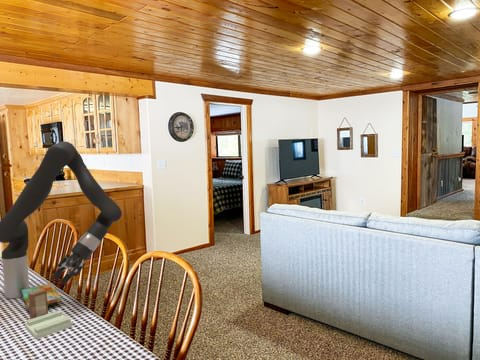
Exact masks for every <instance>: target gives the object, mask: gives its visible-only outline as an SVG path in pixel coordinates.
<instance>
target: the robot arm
mask: <svg viewBox="0 0 480 360" xmlns="http://www.w3.org/2000/svg"><path fill="white" fill-rule="evenodd" d="M66 166H67V167H68V168H69V170H70V171H71V172H72V173H73V175H74V176H75V178H76V180H77V183H78V185H79V188H80V189H81V192H82V193H83V195H84V196H85V198H86V199H87V200H88V201H89V203H91V205H92V206H94V207H96V208H98V210H99V211H100V213H99V214H98V215H97V217H96V218H95V221H94V222H93V223H92V224H91V225H90V227H89V228H88V229H87V230H86V232H84V234H83V235H82V236H81V237H80V238H79V239H78V240H77V241H76V243H74V245H73V246H72V248H70V252H71V254H69V253H66V254H65V255H64V257H63V258H62V259H61V260H60V261H59V263H58V264H57V270H56V271H55V272H54V273H53V275H52V277H51V278H52V279H54V280H58V279H59V278H60V276H61V275H62V274H63V273H64V272H65V271H66V270H67V273H66V274H65V275H64V276H63V278H62V279H61V280H60V284H61V285H63V286H66V285H67V284H68V283H69V282H70V280H71V278H74V277H75V278H76V277H78V275H79V273H80V272H81V271H82V269H84V267H85V266H86V262H85V261H88V259H90V257H91V256H92V255H93V253H94V252H95V250H96V249H97V248H98V247H99V245H100V243H101V241H103V239H104V238H105V237H106V235H107V233H108V230H109V228H110V227H111V226H112V224H113V223H115V222H118V221H120V219H121V218H122V216H123V213H122V209H121V208H120V206H119V205H118V204H117V203H116V202H115V201H114V200H113V199H112V198H111V197H110V196H108V194H107V193H106V192H105V191H104V188H102V186H101V185H100V184H99V183H98V182H97V180H96V178H95V177H94V176H93V174H92V173H91V172H90V170H89V169H88V167H87V165H86V163H85V162H84V161H83V159H82V157H81V156H80V153H79V152H78V149H77V148H76V146H75V145H74V144H73V143H71V142H70V141H60V142H58V143H55V144H54V143H53V144H52V145H51V146H49V148H48V149H47V150H46V152H45V154H44V155H43V158H42V160H41V162H40V164H39V167H38V168H37V169H36V171H35V173H34V174H33V175H32V176H31V178H30V179H29V180H28V182H27V183H26V185H25V186H24V187H23V189H22V190H21V192H20V194H19V195H18V197H17V199H16V200H15V202H14V203H13V204H12V206H11V208H10V209H9V211H7V212H6V213H5V215H4V216H3V218H1V220H0V243H2V244H7V243H8V244H7V246H6V247H5V248H4V249H3V250H2V251H1V264H2V275H3V276H2V277H3V289H4V297H5V299H18V298H22V297H23V295H22V290H23V289H28V288H30V278H29V266H28V265H29V262H28V249H29V228H28V224H27V221H25V220H26V219H27V218H28V217H29V216H31V215H32V214H34V212H35V211H37V210H38V209H39V208H40V207H41V206H42V205H43V204H44V203H45V201H46V200H47V198H48V197H49V195H50V194H51V191H52V188H53V184H54V181H55V179H56V177H57V176H58V175H59V174H60V172H61V171H62V170H63V169H64V168H65V167H66Z"/></svg>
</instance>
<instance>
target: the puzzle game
mask: <svg viewBox="0 0 480 360" xmlns="http://www.w3.org/2000/svg"><path fill="white" fill-rule="evenodd" d="M40 289H43V290H46V291H47V305H48V306H49V307H50V306H53V305H56V304H58V302H61V301H62V297H61V295H60V294H59V292H58V291H57V289H56V287H55V285H54V283H52V282H51V283H46V284H43V285H38V286H32V287H29V288H28V289H23V290H22V295H23V296H22V297H23V300H24V303H25V306H26V307H27V309H28V310H29V300H28V293H31V292H34V291H37V290H40Z"/></svg>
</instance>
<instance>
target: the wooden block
mask: <svg viewBox="0 0 480 360" xmlns="http://www.w3.org/2000/svg"><path fill="white" fill-rule="evenodd" d="M28 300H29V309H28V310H29V320H30V319H33V318H36V317H39V316H43V315H46V314H49V310H48V309H49V307H48V305H47V291H46V290H43V289H40V290H37V291H34V292H31V293H28Z"/></svg>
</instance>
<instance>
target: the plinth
mask: <svg viewBox="0 0 480 360" xmlns="http://www.w3.org/2000/svg"><path fill="white" fill-rule="evenodd" d="M73 326H74V324H73V321H72V319H71V318H70V317H69V316H66V315H64V314H63V312H62V311H61V310H60V309H59V310H55V311H52V312H48V314H46V315H43V316H39V317H36V318H33V319H30V318H29V319H27V320H26V323H25V324H24V327H25V329H26V331H28V333H30V335H31V336H32V337H33V338H34V339H35V340H38V339H40V338H42V337H46V336H49V335H51V334H53V333H57V332H60V331H62V330H66V329H68V328H71V327H73Z"/></svg>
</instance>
